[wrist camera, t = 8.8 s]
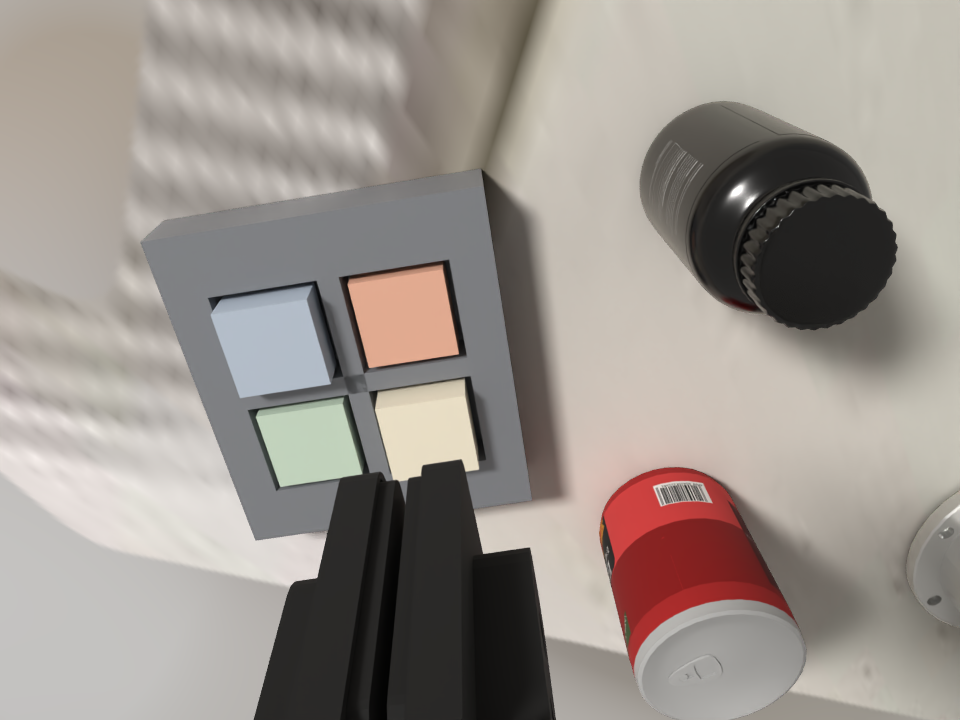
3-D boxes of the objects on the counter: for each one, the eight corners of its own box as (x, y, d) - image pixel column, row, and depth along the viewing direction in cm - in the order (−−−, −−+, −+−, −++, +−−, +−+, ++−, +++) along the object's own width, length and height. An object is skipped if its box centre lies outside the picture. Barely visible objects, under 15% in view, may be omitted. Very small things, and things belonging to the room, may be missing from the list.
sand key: (477, 446, 39) (479, 469, 37) (396, 458, 39) (393, 482, 38) (464, 375, 37) (465, 396, 35) (378, 388, 37) (375, 409, 36)
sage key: (366, 452, 40) (362, 474, 39) (287, 464, 41) (280, 486, 39) (347, 383, 38) (342, 403, 37) (264, 395, 38) (255, 416, 37)
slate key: (336, 363, 37) (330, 384, 35) (250, 377, 37) (240, 398, 35) (313, 282, 35) (306, 299, 33) (222, 296, 35) (210, 314, 33)
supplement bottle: (696, 272, 37) (793, 395, 27) (606, 175, 35) (674, 269, 24) (813, 172, 35) (968, 265, 25) (726, 63, 33) (857, 112, 22)
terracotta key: (458, 335, 37) (458, 354, 36) (372, 348, 37) (369, 368, 36) (443, 253, 35) (442, 269, 34) (352, 268, 35) (347, 284, 34)
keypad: (526, 466, 43) (532, 500, 40) (267, 505, 43) (255, 540, 41) (481, 168, 35) (483, 185, 32) (163, 220, 35) (140, 242, 33)
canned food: (570, 517, 44) (603, 673, 35) (680, 437, 42) (748, 581, 32) (648, 585, 47) (699, 747, 38) (755, 514, 45) (839, 668, 35)
